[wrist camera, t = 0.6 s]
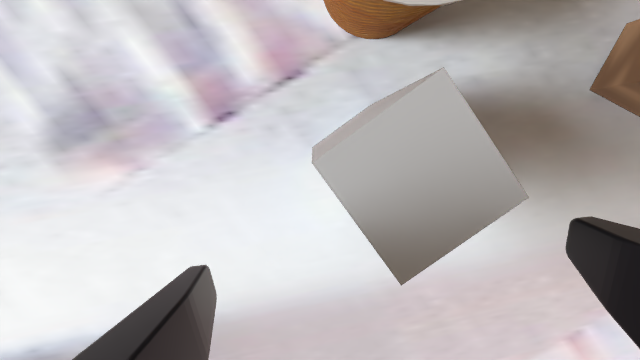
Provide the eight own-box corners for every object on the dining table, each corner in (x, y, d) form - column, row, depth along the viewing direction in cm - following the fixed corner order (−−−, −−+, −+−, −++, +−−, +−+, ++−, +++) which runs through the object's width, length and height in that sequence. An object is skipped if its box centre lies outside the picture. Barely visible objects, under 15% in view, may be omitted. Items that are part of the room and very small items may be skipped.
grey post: (409, 162, 23) (528, 197, 10) (352, 203, 24) (401, 285, 11) (369, 105, 23) (443, 67, 10) (312, 147, 23) (312, 163, 10)
